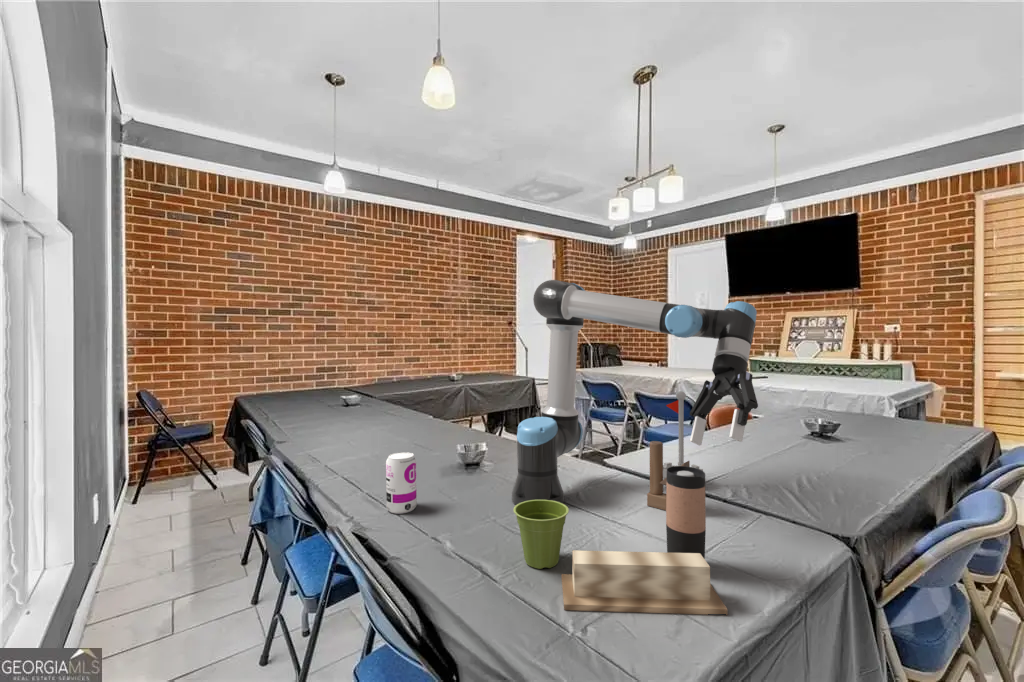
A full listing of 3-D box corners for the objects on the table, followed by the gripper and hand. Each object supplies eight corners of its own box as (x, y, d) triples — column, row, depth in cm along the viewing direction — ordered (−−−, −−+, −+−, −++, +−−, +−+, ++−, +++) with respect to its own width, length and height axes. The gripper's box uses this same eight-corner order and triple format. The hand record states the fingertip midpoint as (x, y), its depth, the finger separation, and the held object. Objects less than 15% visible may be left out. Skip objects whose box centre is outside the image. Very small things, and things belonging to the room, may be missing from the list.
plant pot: (571, 550, 101) (571, 500, 101) (565, 578, 89) (565, 522, 89) (520, 545, 103) (519, 496, 103) (508, 572, 92) (507, 517, 92)
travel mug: (660, 558, 97) (660, 466, 97) (694, 556, 98) (694, 465, 97) (676, 577, 89) (676, 477, 89) (713, 575, 90) (713, 476, 90)
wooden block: (684, 516, 119) (684, 448, 119) (646, 506, 126) (646, 442, 126) (690, 512, 122) (690, 446, 121) (652, 502, 129) (652, 440, 129)
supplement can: (422, 505, 128) (421, 453, 128) (403, 516, 120) (403, 461, 120) (399, 501, 131) (398, 450, 131) (380, 511, 124) (379, 457, 124)
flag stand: (709, 484, 144) (709, 391, 144) (692, 494, 135) (692, 395, 135) (670, 475, 154) (670, 387, 153) (652, 484, 144) (652, 391, 144)
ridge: (564, 609, 79) (563, 570, 79) (561, 579, 89) (561, 544, 89) (727, 615, 77) (727, 574, 77) (706, 582, 87) (706, 547, 87)
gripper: (785, 353, 99) (770, 444, 92) (710, 376, 123) (693, 450, 115) (757, 339, 99) (740, 430, 91) (686, 364, 122) (668, 438, 114)
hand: (714, 441), depth 103 cm, fingers open, 13 cm apart
